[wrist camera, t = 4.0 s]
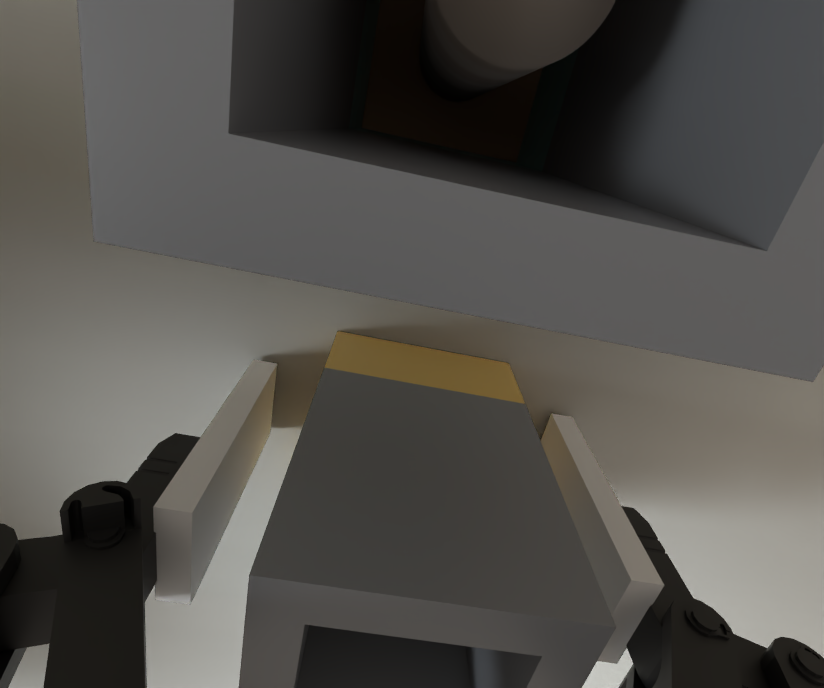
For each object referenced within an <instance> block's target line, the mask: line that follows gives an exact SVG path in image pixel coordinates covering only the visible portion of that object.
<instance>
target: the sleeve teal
mask: <svg viewBox="0 0 824 688" xmlns="http://www.w3.org/2000/svg"><path fill="white" fill-rule="evenodd" d="M77 7H78V22H79V36H80V50H81V65H82V79H83V94H84V108H85V123H86V137H87V152H88V166H89V181H90V195H91V210H92V224H93V239H94V242H99V243H104V244H109V245H114V246H119V247H125V248H130V249H135V250H140V251H145V252H150V253H155V254H160V255H166V256H171V257H176V258H181V259H186V260H191V261H196V262H201V263H207V264H212V265H217V266H222V267H227V268H232V269H237V270H242V271H247V272H253V273H258V274H263V275H268V276H273V277H278V278H283V279H288V280H294V281H299V282H304V283H309V284H314V285H319V286H324V287H329V288H335V289H340V290H345V291H350V292H355V293H360V294H365V295H370V296H375V297H381V298H386V299H391V300H396V301H401V302H406V303H411V304H416V305H422V306H427V307H432V308H437V309H442V310H447V311H452V312H457V313H463V314H468V315H473V316H478V317H483V318H488V319H493V320H498V321H503V322H509V323H514V324H519V325H524V326H529V327H534V328H539V329H544V330H550V331H555V332H560V333H565V334H570V335H575V336H580V337H585V338H591V339H596V340H601V341H606V342H611V343H616V344H621V345H626V346H631V347H637V348H642V349H647V350H652V351H657V352H662V353H667V354H672V355H678V356H683V357H688V358H693V359H698V360H703V361H708V362H713V363H719V364H724V365H729V366H734V367H739V368H744V369H749V370H754V371H759V372H765V373H770V374H775V375H780V376H785V377H790V378H795V379H800V380H806V381H811V382H813V381H814V380H815V378H816V376H817V375H818V373H819V372H820V370H821V368H822V367H823V365H824V0H616V1H615V3H614V5H613V7H612V9H611V11H610V12H609V14H608V15H607V17H606V18H605V20H604V22H603V23H602V24H601V25H600V27H599V28H598V29H597V30H596V32H595V33H594V34H593V35H592V36H591V37H590V38H589V39H588V40H587V41H586V42H585V43H584V44H583V45H581V46H580V47H579V48H578V49H576V50H575V51H574V52H572V53H571V54H569V55H567V56H566V57H564V58H563V59H561V60H558V61H556V62H554V63H552V64H549V65H547V66H545V67H543V69H542V73H541V76H540V80H539V83H538V87H537V91H536V94H535V98H534V101H533V105H532V109H531V112H530V116H529V119H528V123H527V127H526V130H525V134H524V137H523V141H522V144H521V148H520V152H519V155H518V159H517V162H511V161H507V160H503V159H498V158H494V157H489V156H485V155H480V154H476V153H471V152H467V151H463V150H458V149H454V148H449V147H445V146H440V145H436V144H431V143H427V142H423V141H418V140H414V139H409V138H405V137H400V136H396V135H391V134H387V133H383V132H378V131H374V130H369V129H365V128H362V121H363V114H364V108H365V101H366V94H367V87H368V81H369V74H370V67H371V61H372V54H373V47H374V40H375V34H376V27H377V20H378V13H379V7H380V0H77Z"/></svg>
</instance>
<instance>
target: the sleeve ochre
mask: <svg viewBox="0 0 824 688" xmlns="http://www.w3.org/2000/svg"><path fill="white" fill-rule="evenodd" d="M615 629H616V625H615V623H614V620H613V618H612V615H611V613H610V610H609V608H608V606H607V603H606V601H605V598H604V596H603V593H602V591H601V588H600V586H599V583H598V581H597V579H596V576H595V574H594V571H593V569H592V566H591V564H590V561H589V559H588V556H587V554H586V552H585V549H584V547H583V544H582V542H581V539H580V537H579V534H578V532H577V529H576V527H575V525H574V522H573V520H572V517H571V515H570V512H569V510H568V507H567V505H566V502H565V500H564V498H563V495H562V493H561V490H560V488H559V485H558V483H557V480H556V478H555V475H554V473H553V471H552V468H551V466H550V463H549V461H548V458H547V456H546V453H545V451H544V448H543V446H542V444H541V441H540V439H539V436H538V434H537V431H536V429H535V426H534V424H533V422H532V419H531V417H530V414H529V412H528V409H527V407H526V404H525V402H524V399H523V397H522V395H521V392H520V390H519V387H518V385H517V382H516V380H515V377H514V375H513V372H512V370H511V368H510V365H509V363H505V362H500V361H495V360H489V359H484V358H479V357H473V356H468V355H463V354H457V353H452V352H447V351H441V350H436V349H431V348H425V347H420V346H415V345H409V344H404V343H399V342H393V341H388V340H383V339H377V338H372V337H367V336H361V335H356V334H351V333H346V332H340V331H337V334H336V337H335V340H334V342H333V345H332V348H331V351H330V353H329V356H328V359H327V362H326V364H325V367H324V370H323V373H322V375H321V378H320V381H319V384H318V386H317V389H316V392H315V395H314V398H313V400H312V403H311V406H310V409H309V411H308V414H307V417H306V420H305V422H304V425H303V428H302V431H301V433H300V436H299V439H298V442H297V445H296V447H295V450H294V453H293V456H292V458H291V461H290V464H289V467H288V469H287V472H286V475H285V478H284V480H283V483H282V486H281V489H280V491H279V494H278V497H277V500H276V503H275V505H274V508H273V511H272V514H271V516H270V519H269V522H268V525H267V527H266V530H265V533H264V536H263V538H262V541H261V544H260V547H259V550H258V552H257V555H256V558H255V561H254V563H253V566H252V569H251V572H250V574H249V583H248V594H247V605H246V616H245V626H244V637H243V648H242V659H241V669H240V680H239V688H582V686H583V684H584V683H585V681H586V679H587V677H588V676H589V674H590V672H591V671H592V669H593V667H594V665H595V664H596V662H597V660H598V658H599V657H600V655H601V653H602V651H603V650H604V648H605V646H606V645H607V643H608V641H609V639H610V638H611V636H612V634H613V632H614V631H615Z"/></svg>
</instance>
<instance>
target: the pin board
mask: <svg viewBox="0 0 824 688" xmlns="http://www.w3.org/2000/svg"><path fill="white" fill-rule="evenodd" d="M615 1H616V0H380V7H379V13H378V20H377V27H376V34H375V40H374V47H373V54H372V61H371V67H370V74H369V81H368V87H367V94H366V101H365V108H364V114H363V121H362V128H365V129H369V130H374V131H378V132H383V133H387V134H391V135H396V136H400V137H405V138H409V139H414V140H418V141H423V142H427V143H431V144H436V145H440V146H445V147H449V148H454V149H458V150H463V151H467V152H471V153H476V154H480V155H485V156H489V157H494V158H498V159H503V160H507V161H511V162H517V159H518V155H519V152H520V148H521V144H522V141H523V137H524V134H525V130H526V127H527V123H528V119H529V116H530V112H531V109H532V105H533V101H534V98H535V94H536V91H537V87H538V83H539V80H540V76H541V73H542V69H543V67H545V66H547V65H549V64H552V63H554V62H556V61H558V60H561V59H563V58H564V57H566V56H567V55H569V54H571V53H572V52H574V51H575V50H576V49H578V48H579V47H580V46H581V45H583V44H584V43H585V42H586V41H587V40H588V39H589V38H590V37H591V36H592V35H593V34H594V33H595V32H596V30H597V29H598V28H599V27H600V25H601V24H602V23H603V22H604V20H605V18H606V17H607V15H608V14H609V12H610V11H611V9H612V7H613V5H614V3H615Z"/></svg>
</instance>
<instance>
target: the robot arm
mask: <svg viewBox="0 0 824 688" xmlns="http://www.w3.org/2000/svg"><path fill="white" fill-rule="evenodd" d="M276 372H277V364H276V363H271V362H265V361H259V360H253V361H252V363H251V364H250V366H249V367H248V369H247V370H246V372H245V373H244V374H243V376H242V377H241V379H240V380H239V382H238V383H237V385H236V386H235V388H234V389H233V391H232V392H231V394H230V395H229V396H228V398H227V399H226V401H225V402H224V404H223V405H222V407H221V408H220V410H219V411H218V413H217V414H216V416H215V417H214V419H213V420H212V421H211V423H210V424H209V426H208V427H207V429H206V430H205V432H204V433H203V435H202V436H201V437H195V436H189V435H183V434H177V433H175V434H173V435H172V436H170V437H168V438H167V439H165V440H163V441H162V442H160V443H158V444H157V446H156V447H155V448H154V449H153V451H152V452H151V453H150V454H149V456H148V457H147V460H145V461H144V462H143V463H142V464H141V466H140V467H139V469H138V471H136V472H135V473H134V474H133V476H132V477H131V478H130V479H129V481H128V482H127V483H124V482H119V481H103V482H99V483H95V484H91V485H88V486H86V487H84V488H82V489H80V490H78V491H76V492H74V493H73V494H72V495H71V496H70V497H69V498H67V499H66V500H65V501H64V503H63V505H62V507H61V510H60V517H61V524H62V532H63V535H58V536H52V537H43V538H33V539H24V540H18V538H17V536H16V533H15V531H14V529H13V528H11V527H9V526H7V525H5V524H0V688H8V687H9V684H10V682H11V680H12V678H13V676H14V674H15V672H16V669H17V667H18V665H19V663H20V661H21V659H22V657H23V654H24V652H25V650H26V648H27V647H31V646H37V645H43V644H48V643H50V645H49V653H48V660H47V667H46V674H45V681H44V688H147V678H146V637H145V601H146V599H147V597H148V596H149V594H150V592H151V590H152V588H153V587H154V585H155V600H159V601H167V602H174V603H181V604H189V605H190V604H191V602H192V600H193V598H194V596H195V594H196V592H197V589H198V587H199V585H200V583H201V581H202V579H203V576H204V574H205V572H206V570H207V568H208V566H209V564H210V561H211V559H212V557H213V555H214V553H215V551H216V549H217V546H218V544H219V542H220V540H221V538H222V536H223V533H224V531H225V529H226V527H227V525H228V523H229V521H230V518H231V516H232V514H233V512H234V510H235V508H236V505H237V503H238V501H239V499H240V497H241V495H242V493H243V490H244V488H245V486H246V484H247V482H248V480H249V477H250V475H251V473H252V471H253V469H254V467H255V465H256V462H257V460H258V458H259V456H260V454H261V452H262V450H263V447H264V445H265V443H266V441H267V439H268V437H269V434H270V432H271V422H272V412H273V402H274V392H275V382H276ZM541 444H542V446H543V448H544V451H545V453H546V456H547V458H548V461H549V463H550V466H551V468H552V471H553V473H554V475H555V478H556V480H557V483H558V485H559V488H560V490H561V493H562V495H563V498H564V500H565V502H566V505H567V507H568V510H569V512H570V515H571V517H572V520H573V522H574V525H575V527H576V529H577V532H578V534H579V537H580V539H581V542H582V544H583V547H584V549H585V552H586V554H587V556H588V559H589V561H590V564H591V566H592V569H593V571H594V574H595V576H596V579H597V581H598V583H599V586H600V588H601V591H602V593H603V596H604V598H605V601H606V603H607V606H608V608H609V610H610V613H611V615H612V618H613V620H614V623H615V625H616V629H615V631H614V632H613V634H612V636H611V638H610V639H609V641H608V643H607V645H606V646H605V648H604V650H603V651H602V653H601V655H600V657H599V658H598V660H597V661H602V662H609V663H616V664H617V663H618V661H619V659H620V658H621V656H622V655H623V653H624V651H625V650H626V648H627V649H628V651H629V654H630V656H631V658H632V661H633V663H634V664H633V665H632V667H631V669H630V670H629V672H628V673H627V675H626V677H625V678H624V680H623V681H622V683H621V685H620V686H619V688H824V658H823V657H822V656H821V655H820V654H818V653H817V652H815V651H814V650H812V649H811V648H810V647H808V646H807V645H805V644H803V643H801V642H799V641H797V640H794V639H791V638H786V637H780V638H777V639H775V640H774V641H773V642H772V643H771V645H770V646H769V647H768V648H765V647H763V646H760V645H758V644H756V643H753V642H751V641H749V640H746V639H744V638H742V637H739V636H737V635H735V634H733V632H732V630H731V628H730V627H729V625H728V624H727V623H726V621H725V620H724V619H723V618H722V617H721V616H720V615H719V614H718V613H717V612H716V611H715V610H714V609H712V608H711V607H709V606H708V605H706V604H705V603H703V602H701V601H699V600H696V599H694V598H693V597H692V595H691V594H690V592H689V590H688V589H687V587H686V585H685V583H684V582H683V580H682V578H681V577H680V575H679V573H678V572H677V570H676V568H675V567H674V565H673V563H672V562H671V560H670V558H669V556H668V555H667V554H665V550H664V548H663V546H662V545H661V543H660V541H658V540H657V539H658V538H657V536H656V534H655V533H654V531H653V529H652V528H651V526H650V524H649V523H648V522H647V521H646V520H645V519H644V518H643V517H642V516H641V515H640V514H639V513H638V512H637V511H636V510H635V509H634V508H629V507H623V506H621V505H620V503H619V501H618V499H617V497H616V496H615V494H614V492H613V490H612V488H611V486H610V485H609V483H608V481H607V479H606V477H605V476H604V474H603V472H602V470H601V468H600V466H599V465H598V463H597V461H596V459H595V457H594V455H593V454H592V452H591V450H590V448H589V446H588V444H587V443H586V441H585V439H584V437H583V435H582V433H581V432H580V430H579V428H578V426H577V424H576V422H575V421H574V419H573V417H569V416H564V415H558V414H553V413H551V415H550V418H549V421H548V423H547V426H546V428H545V431H544V434H543V436H542V439H541Z"/></svg>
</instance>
